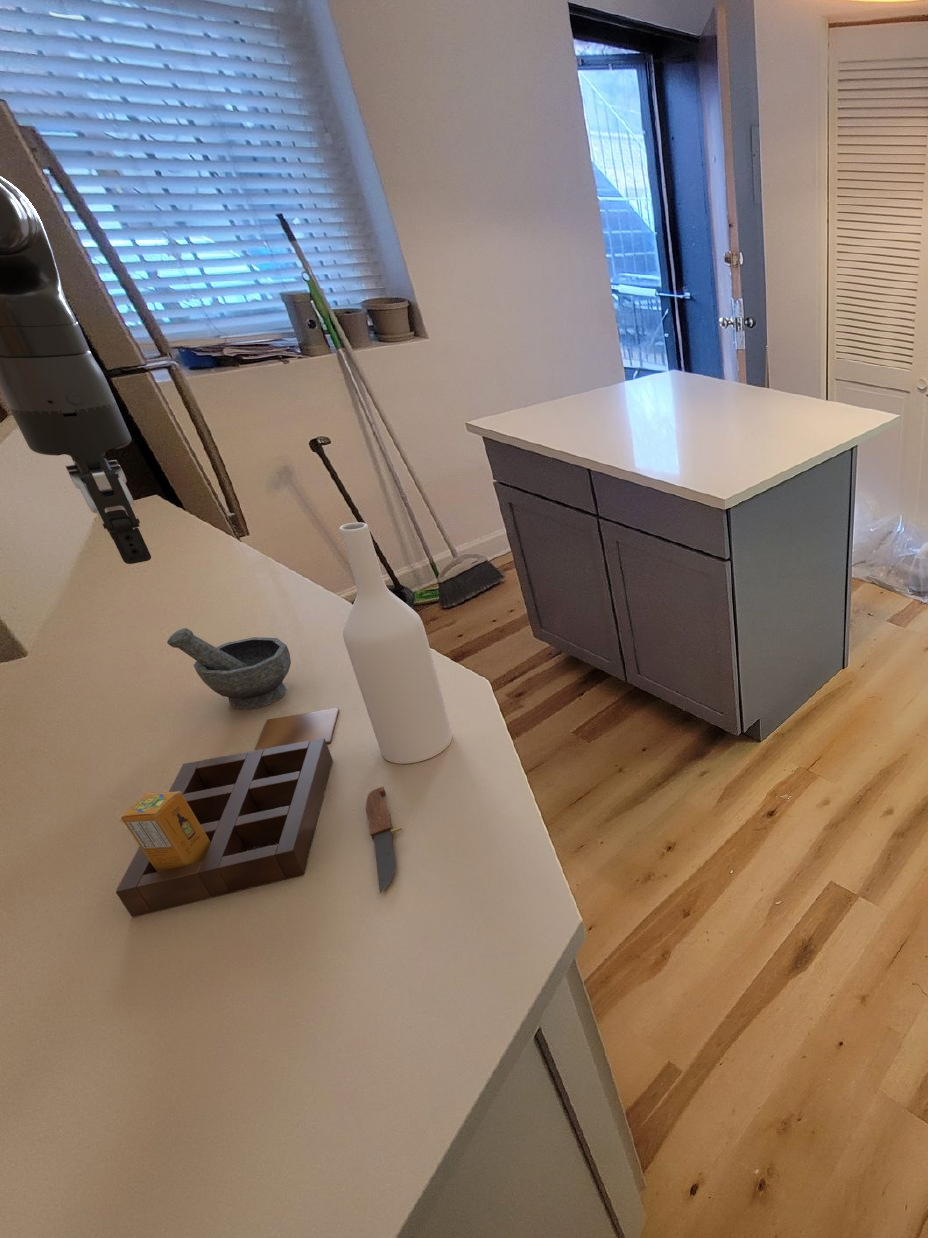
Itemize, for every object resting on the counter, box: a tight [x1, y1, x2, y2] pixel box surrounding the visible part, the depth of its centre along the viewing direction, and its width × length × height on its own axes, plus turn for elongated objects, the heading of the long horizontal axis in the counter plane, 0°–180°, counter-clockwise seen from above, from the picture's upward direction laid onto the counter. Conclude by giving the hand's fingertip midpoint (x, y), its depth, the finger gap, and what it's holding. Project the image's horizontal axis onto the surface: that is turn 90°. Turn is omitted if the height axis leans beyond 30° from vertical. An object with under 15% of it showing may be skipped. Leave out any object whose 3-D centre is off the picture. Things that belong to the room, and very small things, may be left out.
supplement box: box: [120, 791, 211, 872], centre depth 67 cm, size 3×3×10 cm
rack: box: [115, 738, 334, 918], centre depth 75 cm, size 14×20×4 cm
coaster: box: [253, 707, 340, 751], centre depth 90 cm, size 8×8×1 cm
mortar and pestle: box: [166, 627, 292, 710], centre depth 93 cm, size 11×9×12 cm
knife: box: [365, 786, 404, 894], centre depth 75 cm, size 17×1×3 cm
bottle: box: [338, 521, 453, 765], centre depth 82 cm, size 8×8×30 cm
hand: (132, 549), depth 77 cm, fingers open, 8 cm apart
